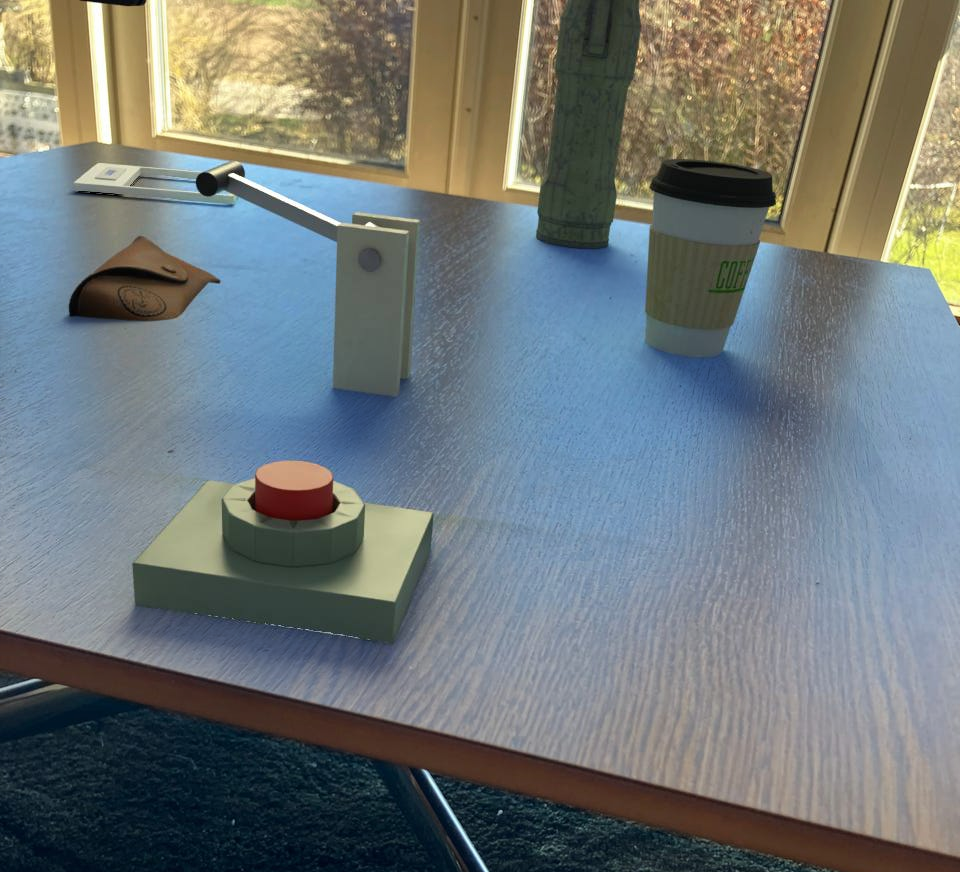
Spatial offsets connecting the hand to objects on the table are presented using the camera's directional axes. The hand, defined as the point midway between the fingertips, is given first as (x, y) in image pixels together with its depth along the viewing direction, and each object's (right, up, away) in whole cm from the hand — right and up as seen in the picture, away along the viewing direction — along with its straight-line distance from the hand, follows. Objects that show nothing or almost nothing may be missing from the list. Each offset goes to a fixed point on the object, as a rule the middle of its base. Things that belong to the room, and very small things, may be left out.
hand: (110, 2), depth 57 cm
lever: (+7, -6, +16) cm, 19 cm away
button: (+10, -26, -4) cm, 28 cm away
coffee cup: (+36, -9, +37) cm, 52 cm away
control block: (+10, -29, -2) cm, 31 cm away
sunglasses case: (-8, -5, +35) cm, 37 cm away
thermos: (+30, +15, +77) cm, 83 cm away
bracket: (+11, -16, +21) cm, 29 cm away
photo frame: (-20, +22, +80) cm, 85 cm away
